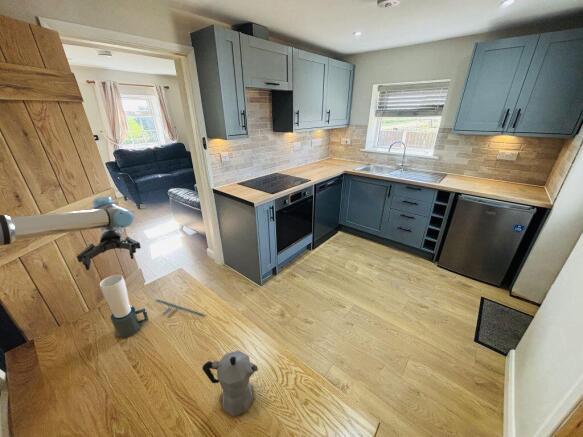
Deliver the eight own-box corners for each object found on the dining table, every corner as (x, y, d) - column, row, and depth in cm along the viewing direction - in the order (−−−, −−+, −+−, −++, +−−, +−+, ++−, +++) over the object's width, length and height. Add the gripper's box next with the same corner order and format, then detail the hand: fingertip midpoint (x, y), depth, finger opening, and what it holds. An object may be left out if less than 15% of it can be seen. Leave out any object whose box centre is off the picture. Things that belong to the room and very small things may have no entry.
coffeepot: (262, 384, 74) (260, 344, 67) (256, 420, 66) (253, 378, 58) (214, 380, 75) (207, 340, 68) (202, 415, 66) (192, 373, 59)
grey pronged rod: (195, 323, 93) (203, 314, 98) (146, 307, 100) (156, 299, 105) (195, 326, 93) (204, 317, 98) (147, 309, 101) (157, 302, 105)
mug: (117, 342, 87) (110, 324, 83) (117, 328, 92) (110, 310, 89) (150, 329, 92) (145, 312, 89) (148, 316, 98) (143, 299, 94)
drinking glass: (137, 307, 91) (127, 275, 85) (124, 321, 84) (112, 287, 78) (121, 305, 91) (110, 273, 85) (107, 319, 85) (93, 286, 79)
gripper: (145, 238, 112) (150, 259, 96) (77, 253, 99) (69, 280, 83) (142, 224, 109) (146, 243, 93) (71, 237, 96) (61, 262, 80)
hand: (110, 261), depth 88 cm, fingers open, 13 cm apart
